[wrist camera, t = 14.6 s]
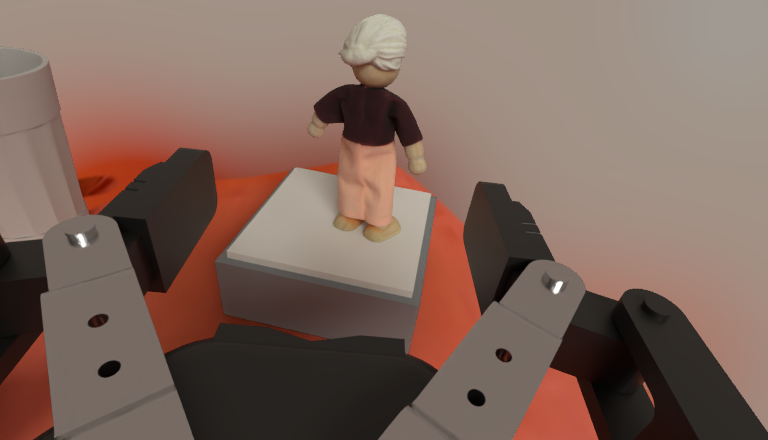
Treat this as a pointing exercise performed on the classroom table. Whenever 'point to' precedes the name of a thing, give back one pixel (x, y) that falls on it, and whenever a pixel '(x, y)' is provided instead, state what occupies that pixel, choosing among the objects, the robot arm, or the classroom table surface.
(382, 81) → the grandmother figurine
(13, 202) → the cup
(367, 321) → the plinth
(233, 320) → the classroom table surface
